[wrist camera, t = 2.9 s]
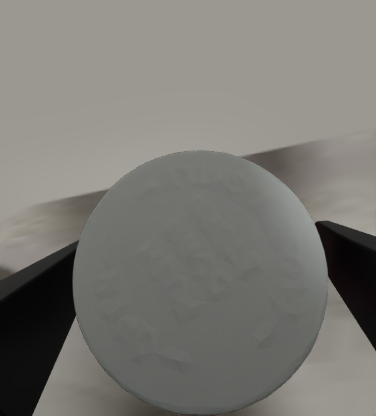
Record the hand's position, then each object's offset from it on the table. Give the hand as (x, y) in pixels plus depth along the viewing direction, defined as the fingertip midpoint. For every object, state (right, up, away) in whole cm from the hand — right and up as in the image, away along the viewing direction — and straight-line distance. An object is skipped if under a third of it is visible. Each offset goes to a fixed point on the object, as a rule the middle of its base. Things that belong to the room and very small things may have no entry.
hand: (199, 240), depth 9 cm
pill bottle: (+1, -4, +6) cm, 7 cm away
